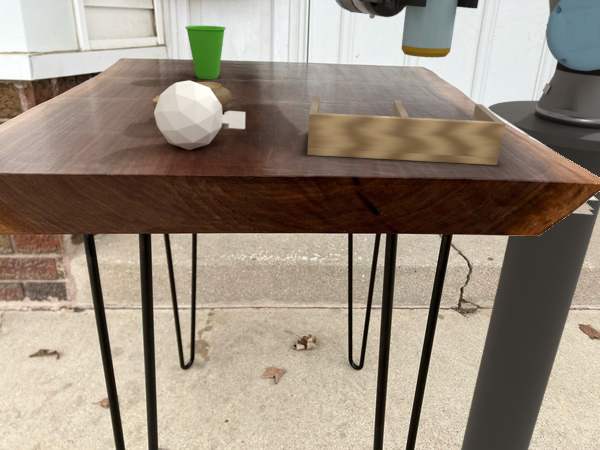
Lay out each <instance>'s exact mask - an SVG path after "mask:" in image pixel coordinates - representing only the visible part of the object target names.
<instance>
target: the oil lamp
mask: <svg viewBox="0 0 600 450" xmlns="http://www.w3.org/2000/svg"><path fill="white" fill-rule="evenodd" d="M196 83H198V84H201V85H204V86H207V87H209V88H210V89H211V90H212V92H213V93H214V95H215V96H216V98H217V99H218V101H219V102H220V104H221V105H222V110H224V109H225V108H226V107H227V106H228V105H229V104H230V102H231V101H232V93H231V91H230V90H229V89H227V88H225V87H224V86H223V85H222V84H221V83H219V82H213V81H199V82H198V81H197V82H196ZM159 97H160V95H155V96H154V97H153V99H152V100H151V103H152V106H153V108H154V109H155V108H156V105H157V103H158V100H159Z"/></svg>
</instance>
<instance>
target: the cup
mask: <svg viewBox="0 0 600 450" xmlns="http://www.w3.org/2000/svg"><path fill="white" fill-rule="evenodd" d="M185 29H186V33H187V36H188V37H187V38H188V42H189V47H190V53H191V57H192V62H193V67H194V72H195V76H196V78H197V79H201V80H215V79H218V78H219V76H220V69H221V62H222V61H221V60H222V53H223V52H222V51H223V46H224V45H223V44H224V35H225V30H227V29H226V27H225V26H221V25H220V26H219V25H217V26H216V25H186V26H185Z"/></svg>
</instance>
